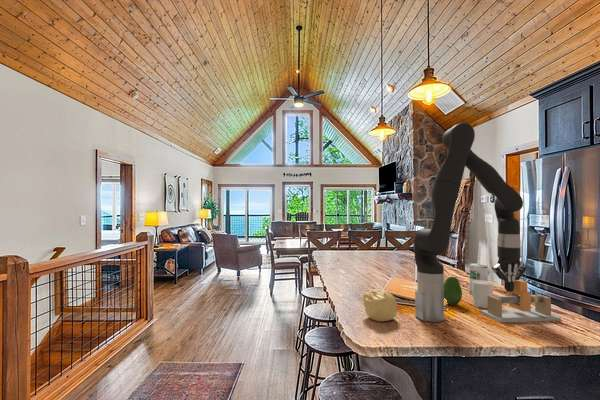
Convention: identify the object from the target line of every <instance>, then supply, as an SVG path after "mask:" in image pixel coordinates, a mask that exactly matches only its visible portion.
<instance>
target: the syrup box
mask: <svg viewBox="0 0 600 400" xmlns="http://www.w3.org/2000/svg"><path fill="white" fill-rule="evenodd" d="M488 269H489V267H488V265H487V264H483V263H482V264H481V263H477V262H475V263H473V262H472V263H469V291H468V293H469V294H470V295H473V292H472V281H473V280H483V281H489V280H488V279H489V277H488V276H489V273H488V272H489V270H488Z"/></svg>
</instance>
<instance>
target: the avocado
mask: <svg viewBox="0 0 600 400" xmlns="http://www.w3.org/2000/svg"><path fill="white" fill-rule="evenodd" d="M444 281H445V282H444V298H445V299H446V300H447V302H446V304H448V305H450V306H451V305H452V306H456V305H458V304H459V303H460V302H461V300H462V297H463V289H462V287H461V284H460V281H459V279H458V277H456V276H449V277H448V278H446V280H444Z"/></svg>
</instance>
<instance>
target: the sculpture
mask: <svg viewBox="0 0 600 400" xmlns="http://www.w3.org/2000/svg"><path fill="white" fill-rule="evenodd" d="M362 296H363V297H362V299H363V307H364V308H365V314H366V315H367V317H368V318H370V319H371V320H372V321H374V322H381V323H382V322H387V321H391V320H394V319H395V317H396V316H397V314H398V303H397V300H396V298H395V297H394V295H393V294H392V293H390V292H388V291H386V290H381V289H379V288H377V289H372V290H368V291H367V292H366V293H364V294H363V295H362Z"/></svg>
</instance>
